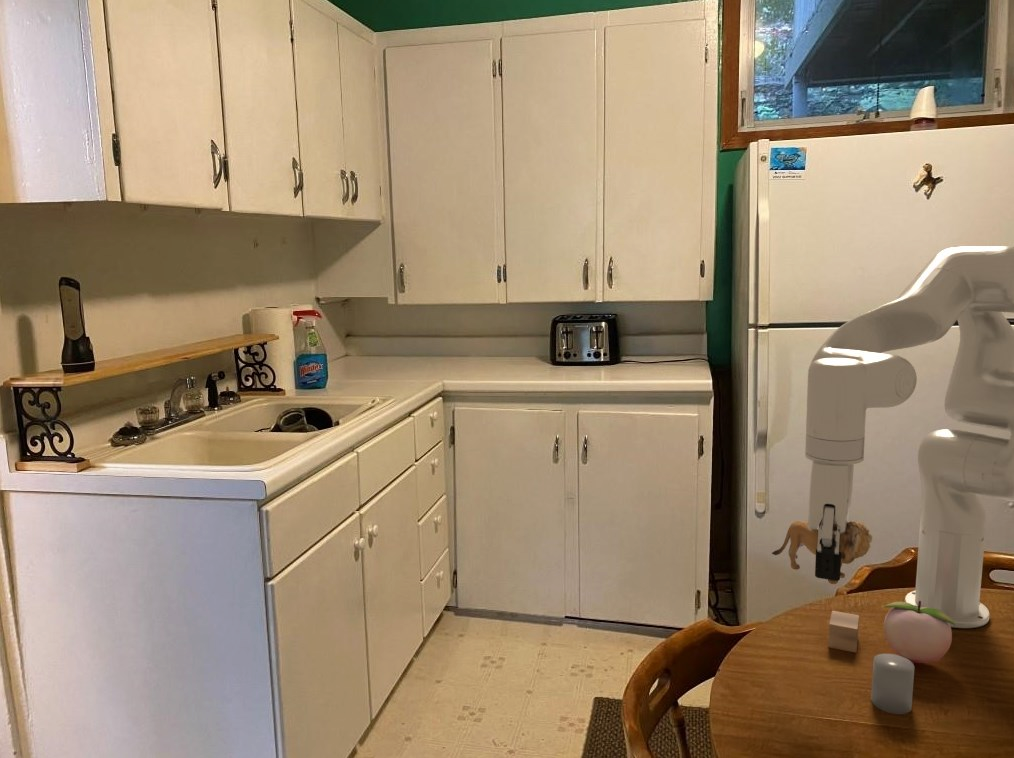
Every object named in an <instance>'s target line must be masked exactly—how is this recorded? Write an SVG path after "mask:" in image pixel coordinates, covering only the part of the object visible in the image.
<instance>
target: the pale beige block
mask: <svg viewBox="0 0 1014 758" xmlns="http://www.w3.org/2000/svg"><path fill="white" fill-rule="evenodd" d="M859 624H860V614H854V613H848V612H843V611H837V610H832V611H831V616H830V619H829V625H828V627H829V628H828V648H831V649H836V650H841V651H846V652H852V653H857V650H858V649H857V648H858V640H859Z"/></svg>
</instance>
